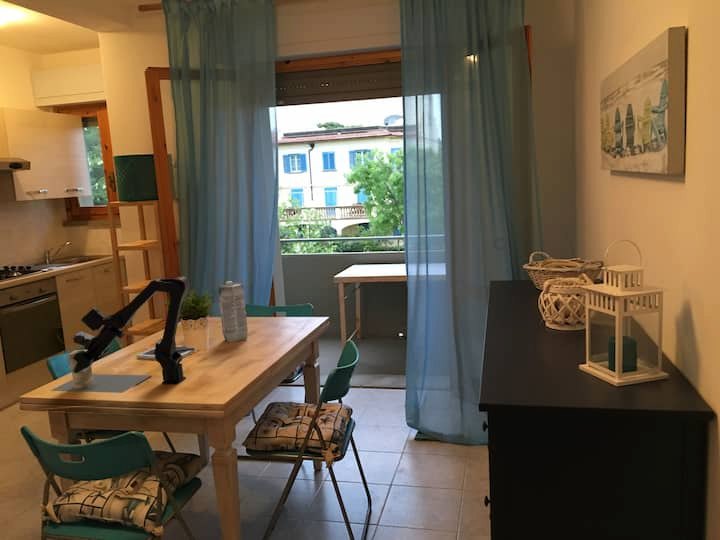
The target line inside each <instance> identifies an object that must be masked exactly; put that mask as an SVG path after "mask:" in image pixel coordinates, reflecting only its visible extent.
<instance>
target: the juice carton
mask: <svg viewBox="0 0 720 540" xmlns="http://www.w3.org/2000/svg"><path fill="white" fill-rule="evenodd" d="M217 290H218V300H219V310H220V312H219V313H220V321H221V330H222V335H223V337H224V340H225V341H226V342H228V343H233V342H234V343H235V342H240V341H245V340H247V339H248V319H247V309H246V302H245V301H246V299H245V292H244V286H243V284H241V283H239V282H234V283H233V281H232V280H230V281H229V280H228V281H226V282H225V284H219V285H218V289H217Z"/></svg>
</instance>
